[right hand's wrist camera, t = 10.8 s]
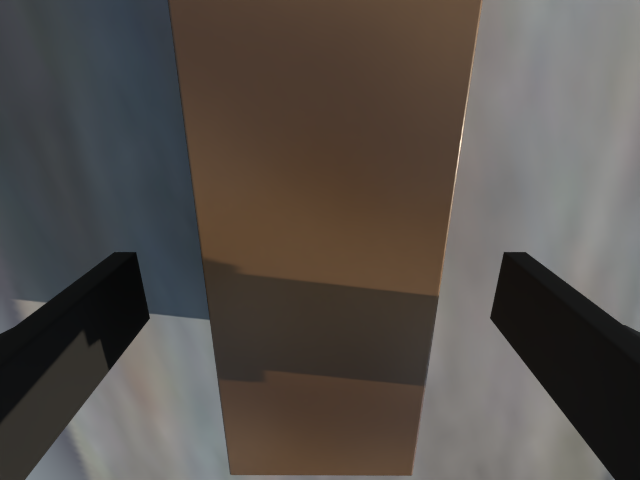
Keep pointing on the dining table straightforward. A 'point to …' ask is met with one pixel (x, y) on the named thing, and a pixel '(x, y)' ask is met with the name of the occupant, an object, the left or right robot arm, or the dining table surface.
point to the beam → (323, 216)
